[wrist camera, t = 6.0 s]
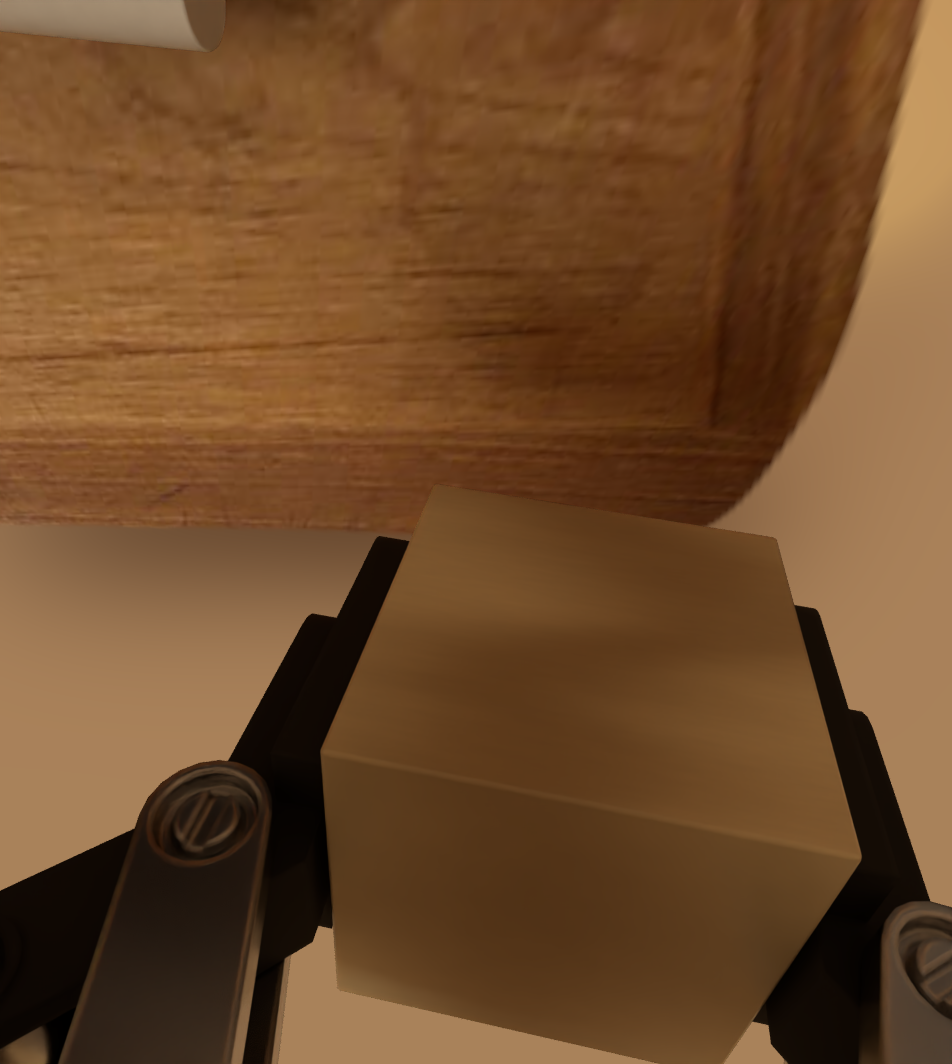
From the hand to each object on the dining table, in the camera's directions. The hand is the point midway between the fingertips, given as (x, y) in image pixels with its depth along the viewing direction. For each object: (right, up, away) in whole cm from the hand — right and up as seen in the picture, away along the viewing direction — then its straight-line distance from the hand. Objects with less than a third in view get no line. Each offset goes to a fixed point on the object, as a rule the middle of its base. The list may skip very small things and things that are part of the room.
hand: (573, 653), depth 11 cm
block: (0, 0, 0) cm, 0 cm away
